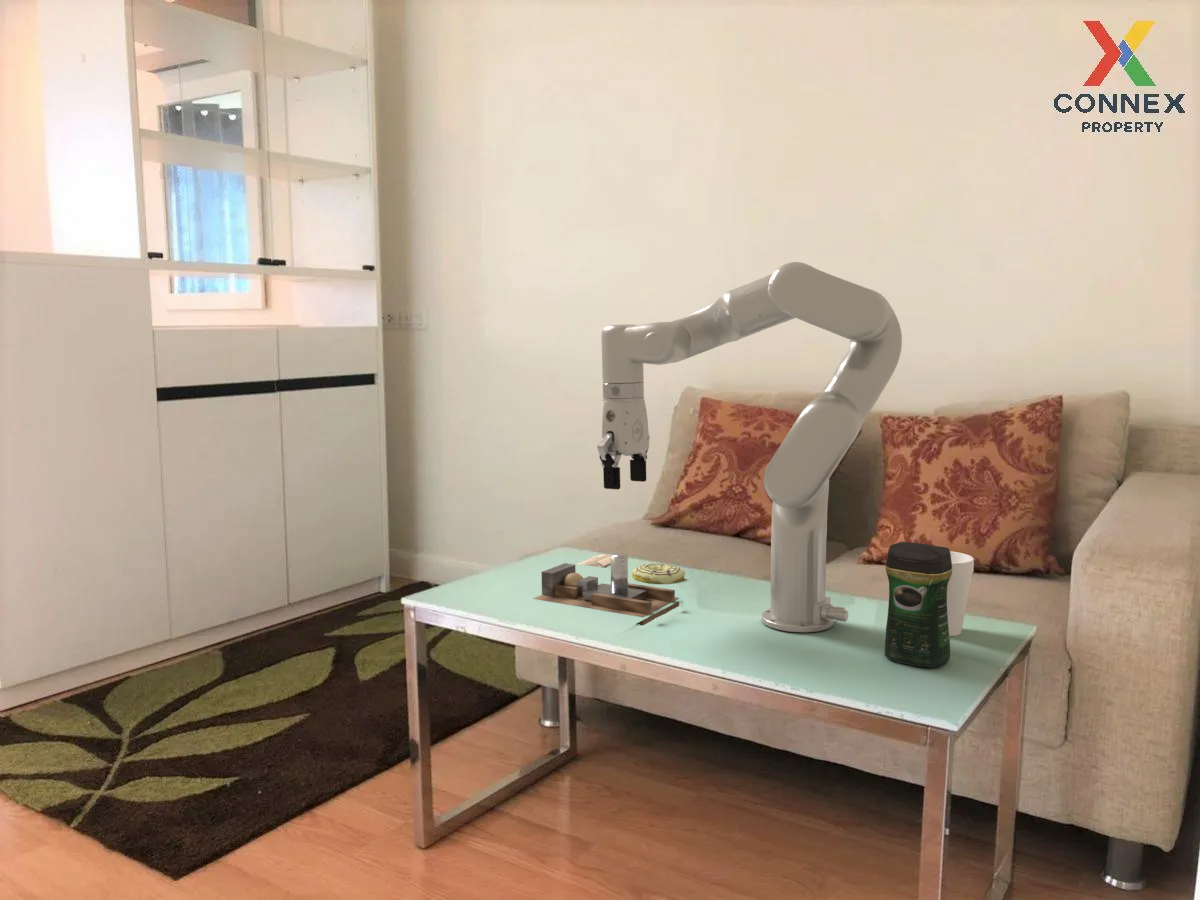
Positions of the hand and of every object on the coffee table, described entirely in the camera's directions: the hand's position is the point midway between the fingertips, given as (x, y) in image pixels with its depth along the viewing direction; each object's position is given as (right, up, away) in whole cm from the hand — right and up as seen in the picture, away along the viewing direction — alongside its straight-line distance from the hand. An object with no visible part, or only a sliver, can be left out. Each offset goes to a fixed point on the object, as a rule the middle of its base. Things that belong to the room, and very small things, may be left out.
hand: (625, 484), depth 181 cm
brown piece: (-4, -23, +4) cm, 24 cm away
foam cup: (+54, -25, -13) cm, 61 cm away
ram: (-3, -21, +4) cm, 22 cm away
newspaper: (-8, -21, +31) cm, 39 cm away
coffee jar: (+45, -27, -27) cm, 59 cm away
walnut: (-10, -21, +8) cm, 25 cm away
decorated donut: (+7, -22, +20) cm, 30 cm away
